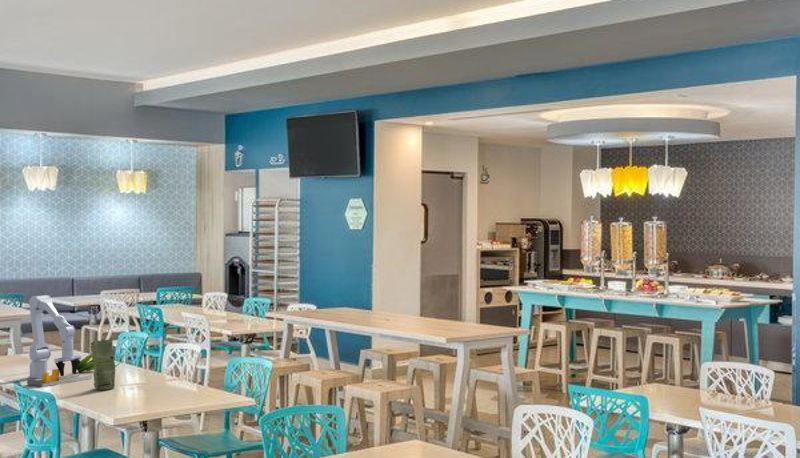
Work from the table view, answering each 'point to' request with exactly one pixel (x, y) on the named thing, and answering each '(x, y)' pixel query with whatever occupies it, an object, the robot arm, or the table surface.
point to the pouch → (103, 364)
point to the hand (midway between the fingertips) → (68, 374)
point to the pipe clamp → (52, 378)
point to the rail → (39, 382)
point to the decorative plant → (89, 364)
